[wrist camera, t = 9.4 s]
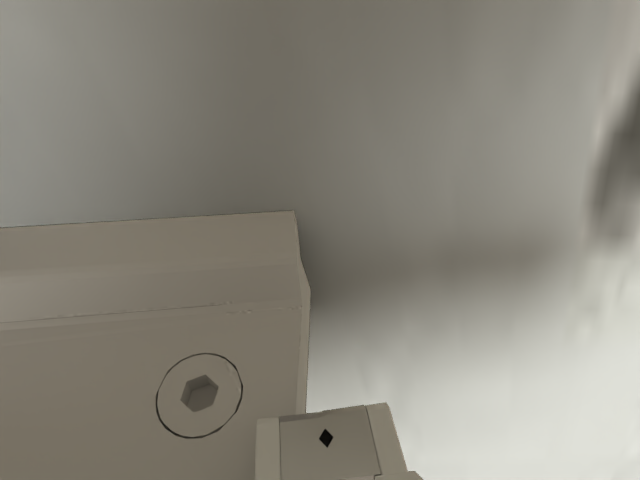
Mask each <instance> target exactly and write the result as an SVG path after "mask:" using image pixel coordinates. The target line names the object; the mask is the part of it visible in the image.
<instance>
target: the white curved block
mask: <svg viewBox="0 0 640 480" xmlns="http://www.w3.org/2000/svg"><path fill="white" fill-rule="evenodd" d="M310 297H311V289H310V286H309V283H308V280H307V277H306V274H305V271H304V268H303V265H302V262H301V257H300V247H299V236H298V226H297V221H296V217H295V213H294V211H277V212H260V213H244V214H227V215H210V216H194V217H177V218H160V219H143V220H127V221H110V222H93V223H77V224H60V225H43V226H26V227H10V228H0V480H255V446H256V424H257V419H261V418H269V417H277V416H287V415H296V414H306V397H307V375H308V354H309V332H310Z"/></svg>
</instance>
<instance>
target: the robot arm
mask: <svg viewBox="0 0 640 480" xmlns="http://www.w3.org/2000/svg"><path fill="white" fill-rule="evenodd" d="M255 480H423V479H422V478H421V477H420V476H419V475H418V474H417V473H416V472H415V471H408V470H407V467H406V463H405V460H404V456H403V453H402V449H401V446H400V443H399V439H398V436H397V432H396V429H395V425H394V422H393V418H392V415H391V411H390V408H389V406H388V404H387V403H386V402H385V403H378V404H371V405H365V406H364V405H359V406H352V407H345V408H339V409H332V410H325V411H322V412H315V413H306V414H296V415H287V416H277V417H269V418H261V419H257V424H256V446H255Z"/></svg>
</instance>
